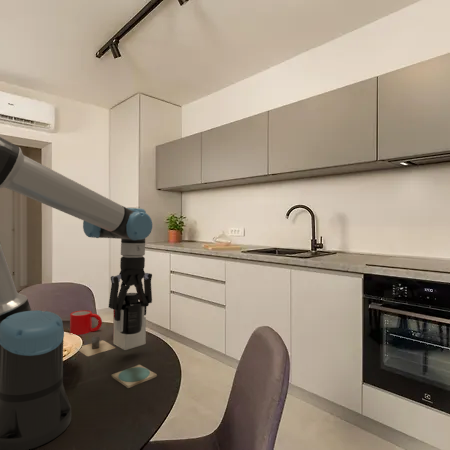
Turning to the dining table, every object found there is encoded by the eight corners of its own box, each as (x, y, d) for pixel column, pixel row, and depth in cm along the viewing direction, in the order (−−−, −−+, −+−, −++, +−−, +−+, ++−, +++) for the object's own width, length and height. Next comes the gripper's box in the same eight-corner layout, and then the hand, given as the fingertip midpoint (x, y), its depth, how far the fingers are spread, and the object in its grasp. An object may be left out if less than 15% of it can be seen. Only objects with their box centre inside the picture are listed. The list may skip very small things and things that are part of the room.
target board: (128, 388, 83) (128, 385, 83) (111, 376, 89) (111, 374, 89) (156, 376, 90) (156, 373, 90) (139, 366, 96) (139, 364, 96)
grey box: (125, 351, 107) (125, 322, 107) (113, 345, 112) (113, 317, 112) (145, 345, 112) (145, 317, 112) (133, 339, 118) (133, 312, 118)
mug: (99, 335, 122) (99, 315, 122) (66, 336, 120) (66, 316, 120) (104, 329, 130) (105, 309, 129) (74, 329, 128) (74, 310, 128)
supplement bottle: (144, 328, 104) (145, 292, 105) (136, 335, 97) (137, 296, 98) (124, 327, 105) (125, 291, 105) (115, 334, 98) (116, 295, 98)
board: (87, 358, 101) (87, 343, 101) (74, 349, 108) (74, 336, 108) (116, 349, 109) (116, 336, 109) (102, 341, 115) (103, 329, 115)
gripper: (109, 258, 92) (106, 338, 91) (165, 256, 106) (162, 324, 106) (97, 256, 97) (94, 331, 97) (152, 254, 111) (150, 319, 111)
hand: (130, 328), depth 101 cm, fingers closed on supplement bottle, 7 cm apart
